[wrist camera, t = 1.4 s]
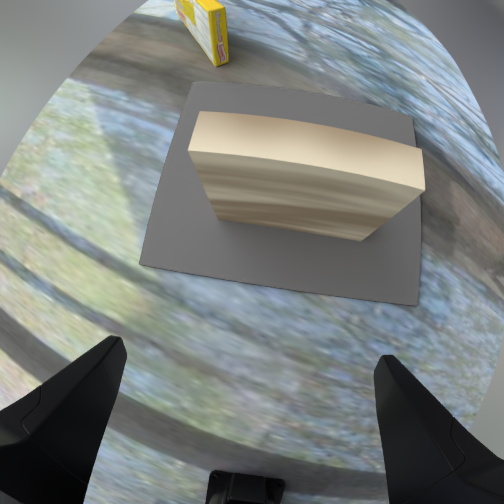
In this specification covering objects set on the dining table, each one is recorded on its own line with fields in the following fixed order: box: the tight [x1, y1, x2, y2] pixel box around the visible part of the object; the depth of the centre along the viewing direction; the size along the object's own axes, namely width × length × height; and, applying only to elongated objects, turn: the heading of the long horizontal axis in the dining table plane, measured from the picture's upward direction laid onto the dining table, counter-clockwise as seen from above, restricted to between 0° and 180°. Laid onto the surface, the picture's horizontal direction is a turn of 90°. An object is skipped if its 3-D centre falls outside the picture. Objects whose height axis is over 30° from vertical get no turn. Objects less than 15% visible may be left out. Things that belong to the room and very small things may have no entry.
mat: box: [139, 81, 421, 306], centre depth 25 cm, size 20×24×1 cm
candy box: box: [174, 0, 229, 67], centre depth 26 cm, size 16×2×8 cm, turn 26°
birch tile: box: [188, 111, 425, 241], centre depth 19 cm, size 2×12×11 cm, turn 81°
